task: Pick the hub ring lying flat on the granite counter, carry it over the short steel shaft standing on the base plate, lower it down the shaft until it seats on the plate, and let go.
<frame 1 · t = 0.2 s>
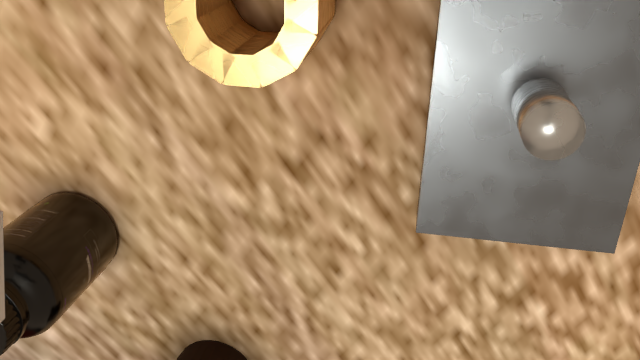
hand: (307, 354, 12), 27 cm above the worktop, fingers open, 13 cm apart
supplement bottle: (79, 228, 46), on the worktop
shaft stand: (533, 94, 35), on the worktop
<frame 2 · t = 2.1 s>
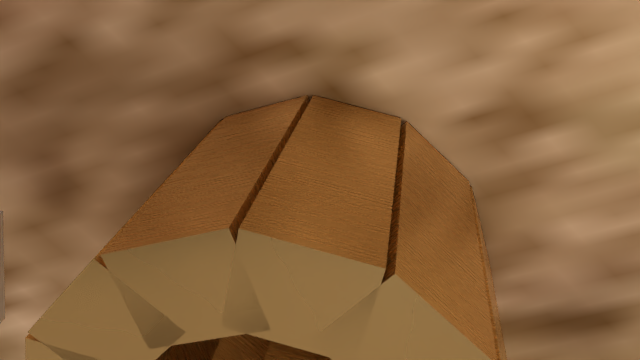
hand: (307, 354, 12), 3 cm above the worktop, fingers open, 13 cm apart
hub: (318, 254, 15), on the worktop
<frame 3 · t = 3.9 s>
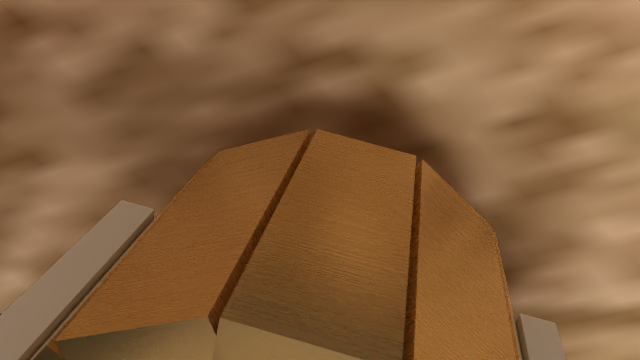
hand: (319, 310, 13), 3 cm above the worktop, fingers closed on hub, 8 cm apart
hub: (322, 302, 13), point 3 cm above the worktop, touching gripper
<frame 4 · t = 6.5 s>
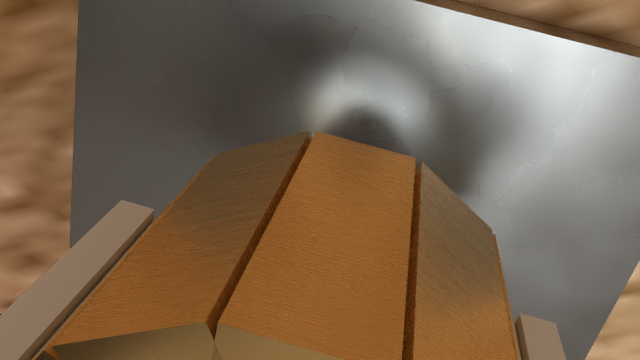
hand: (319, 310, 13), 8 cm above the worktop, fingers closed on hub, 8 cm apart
shaft stand: (354, 165, 20), on the worktop
hub: (321, 304, 13), point 8 cm above the worktop, touching gripper
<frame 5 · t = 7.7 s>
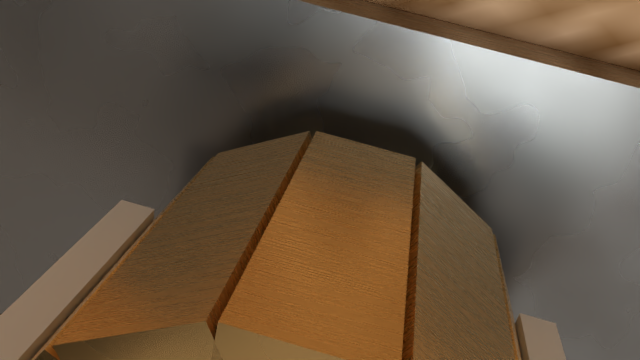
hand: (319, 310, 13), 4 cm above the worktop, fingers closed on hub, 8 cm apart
shaft stand: (341, 223, 17), on the worktop
hub: (321, 304, 13), point 4 cm above the worktop, touching gripper
when the fingers open (3 cm above the worktop, at t = 8.9 s): hub stays where it is, resting on shaft stand.
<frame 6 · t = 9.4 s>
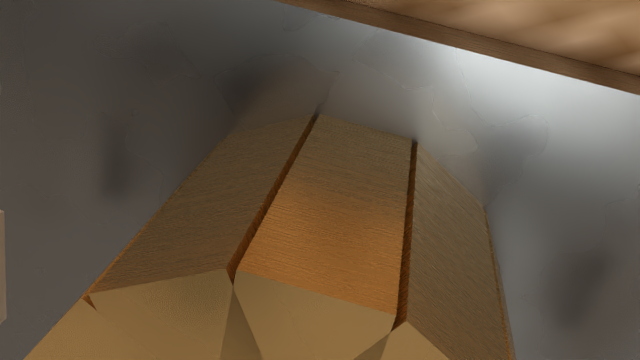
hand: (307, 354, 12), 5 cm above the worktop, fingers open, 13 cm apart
shaft stand: (340, 236, 16), on the worktop
hub: (324, 278, 14), point 2 cm above the worktop, touching shaft stand
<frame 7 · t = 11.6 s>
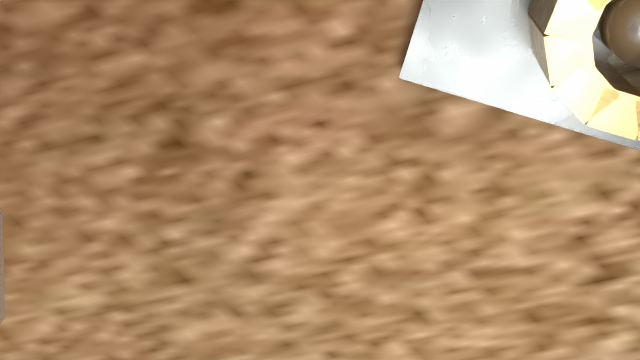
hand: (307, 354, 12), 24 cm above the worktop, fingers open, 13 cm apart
shaft stand: (612, 6, 30), on the worktop
hub: (619, 13, 28), point 2 cm above the worktop, touching shaft stand
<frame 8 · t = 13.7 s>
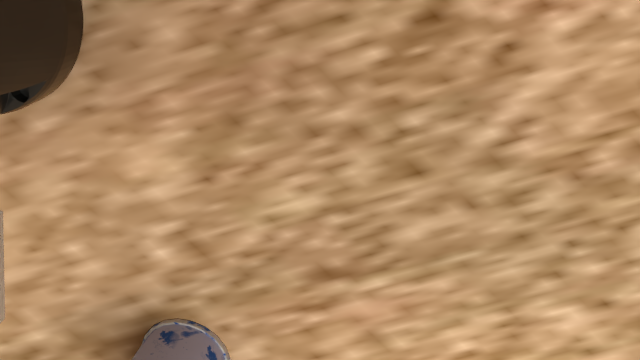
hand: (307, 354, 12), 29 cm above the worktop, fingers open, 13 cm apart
aerosol can: (187, 354, 52), on the worktop
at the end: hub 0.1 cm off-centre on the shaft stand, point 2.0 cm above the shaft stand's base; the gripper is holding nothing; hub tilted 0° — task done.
